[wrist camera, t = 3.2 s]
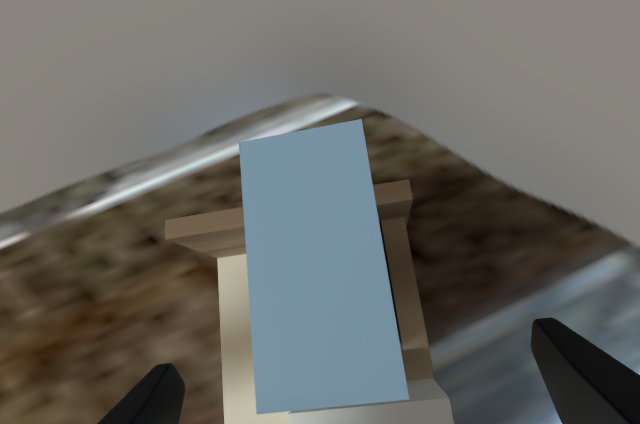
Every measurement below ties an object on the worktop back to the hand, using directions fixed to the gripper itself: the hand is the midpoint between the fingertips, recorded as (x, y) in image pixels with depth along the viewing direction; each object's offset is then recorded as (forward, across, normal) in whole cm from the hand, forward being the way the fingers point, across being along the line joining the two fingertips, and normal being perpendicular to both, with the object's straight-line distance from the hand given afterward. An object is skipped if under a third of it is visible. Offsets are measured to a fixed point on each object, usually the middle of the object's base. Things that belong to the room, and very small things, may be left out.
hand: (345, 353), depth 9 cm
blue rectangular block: (+8, 0, +5) cm, 9 cm away
